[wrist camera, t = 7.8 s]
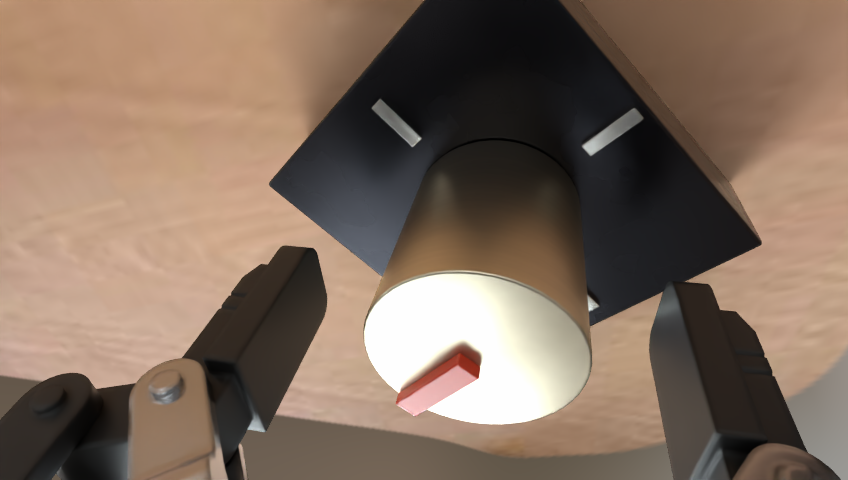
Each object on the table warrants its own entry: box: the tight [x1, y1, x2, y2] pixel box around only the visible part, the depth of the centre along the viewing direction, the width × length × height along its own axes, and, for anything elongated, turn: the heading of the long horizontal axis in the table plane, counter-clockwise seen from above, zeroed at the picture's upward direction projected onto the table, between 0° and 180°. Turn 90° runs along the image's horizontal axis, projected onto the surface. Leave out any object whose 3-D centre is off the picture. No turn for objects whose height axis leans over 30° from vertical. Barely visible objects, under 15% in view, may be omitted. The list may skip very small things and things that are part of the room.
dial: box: [364, 140, 592, 424], centre depth 11 cm, size 4×4×5 cm
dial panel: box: [269, 0, 762, 326], centre depth 15 cm, size 10×9×3 cm
